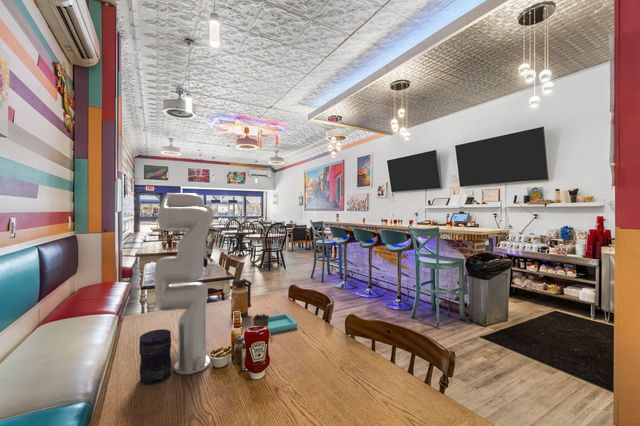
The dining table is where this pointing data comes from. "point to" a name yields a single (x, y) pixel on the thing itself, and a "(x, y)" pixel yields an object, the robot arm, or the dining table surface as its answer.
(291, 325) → the dish
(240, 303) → the canister
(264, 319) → the cup
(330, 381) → the dining table surface
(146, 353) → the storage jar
